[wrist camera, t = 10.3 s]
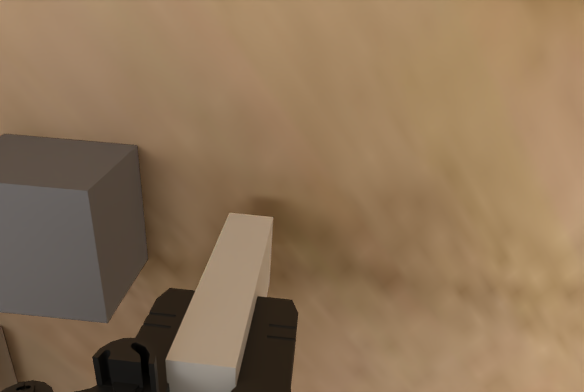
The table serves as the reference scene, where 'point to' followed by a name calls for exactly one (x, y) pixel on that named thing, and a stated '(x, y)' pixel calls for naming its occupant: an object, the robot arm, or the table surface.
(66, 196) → the block
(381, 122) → the table surface
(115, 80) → the table surface
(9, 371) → the laid floor rows
